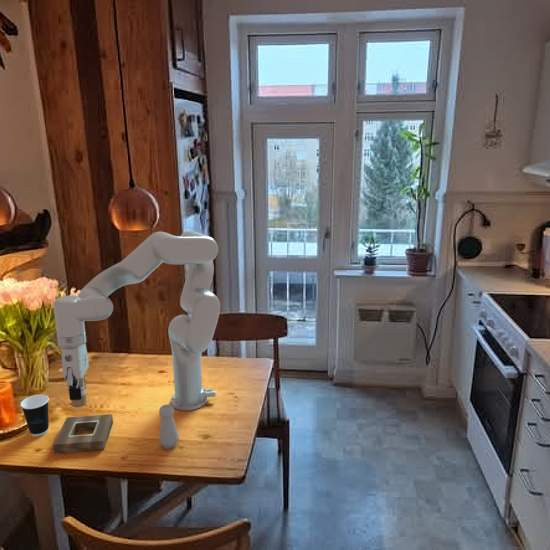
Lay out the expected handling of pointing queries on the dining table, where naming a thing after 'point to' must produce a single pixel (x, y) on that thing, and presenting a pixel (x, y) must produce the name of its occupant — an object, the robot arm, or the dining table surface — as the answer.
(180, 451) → the dining table surface
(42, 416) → the dixie cup
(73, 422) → the socket block
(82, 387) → the sprinkles bottle
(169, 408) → the salt shaker
